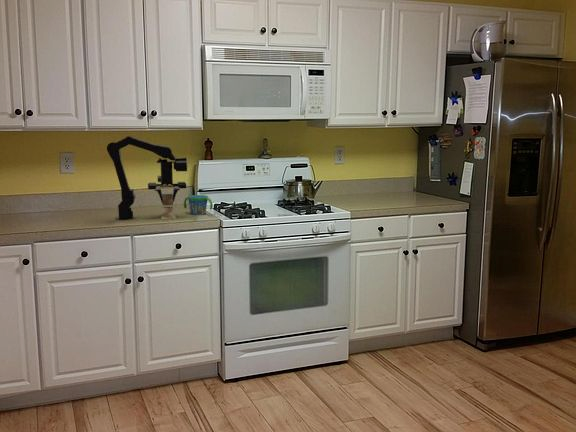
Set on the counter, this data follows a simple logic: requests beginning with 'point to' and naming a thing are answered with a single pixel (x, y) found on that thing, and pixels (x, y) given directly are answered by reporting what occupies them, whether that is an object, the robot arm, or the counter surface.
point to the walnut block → (167, 199)
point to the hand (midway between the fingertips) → (167, 202)
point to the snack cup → (198, 204)
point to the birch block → (168, 212)
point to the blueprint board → (166, 218)
